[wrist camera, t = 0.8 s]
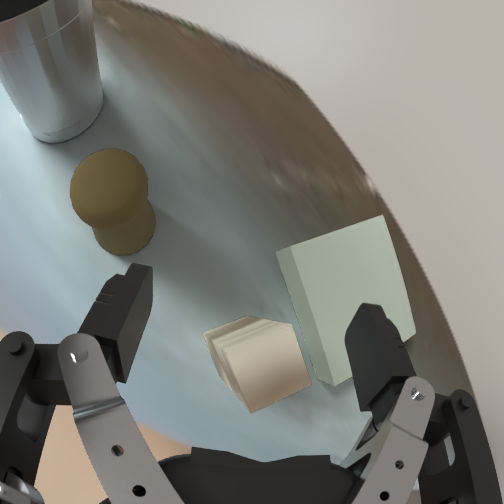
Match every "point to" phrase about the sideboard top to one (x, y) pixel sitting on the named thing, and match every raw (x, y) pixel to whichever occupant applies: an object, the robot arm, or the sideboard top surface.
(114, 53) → the sideboard top surface
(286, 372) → the maple block
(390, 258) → the sage block
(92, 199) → the brown rounded piece
